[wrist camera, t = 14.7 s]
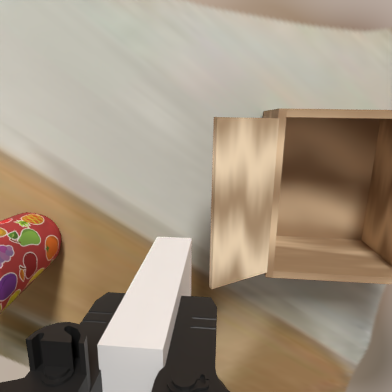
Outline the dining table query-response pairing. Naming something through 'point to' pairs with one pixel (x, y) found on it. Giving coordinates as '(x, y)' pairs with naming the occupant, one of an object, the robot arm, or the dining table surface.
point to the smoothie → (25, 252)
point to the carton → (332, 196)
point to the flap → (241, 197)
